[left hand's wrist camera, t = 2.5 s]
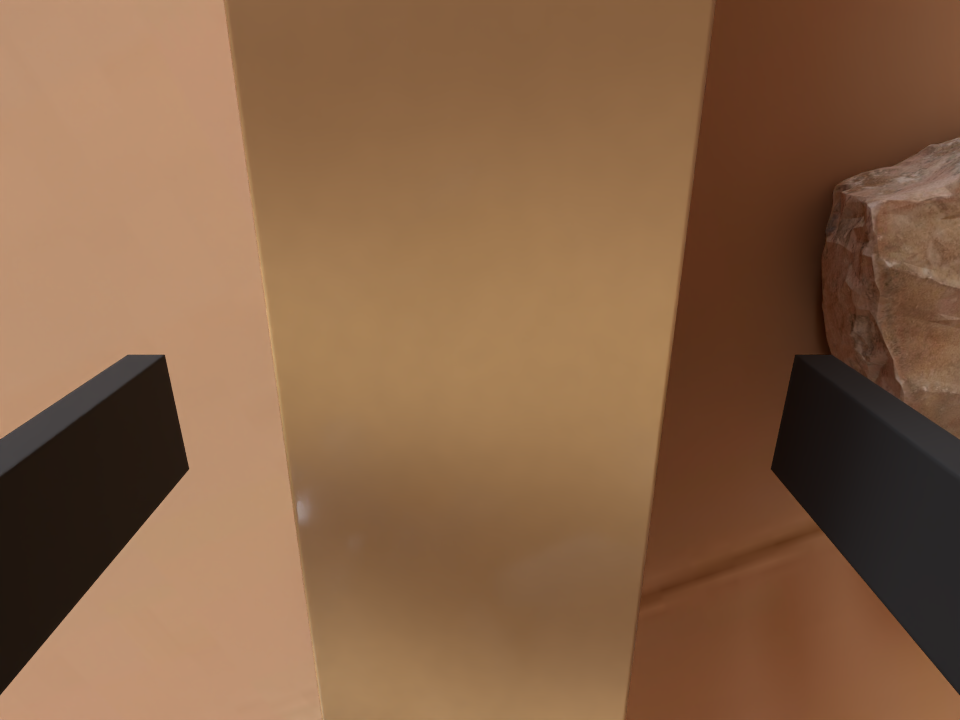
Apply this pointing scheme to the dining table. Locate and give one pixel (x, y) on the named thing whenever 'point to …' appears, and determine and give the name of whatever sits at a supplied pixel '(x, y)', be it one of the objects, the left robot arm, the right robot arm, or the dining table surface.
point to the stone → (899, 280)
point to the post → (471, 331)
